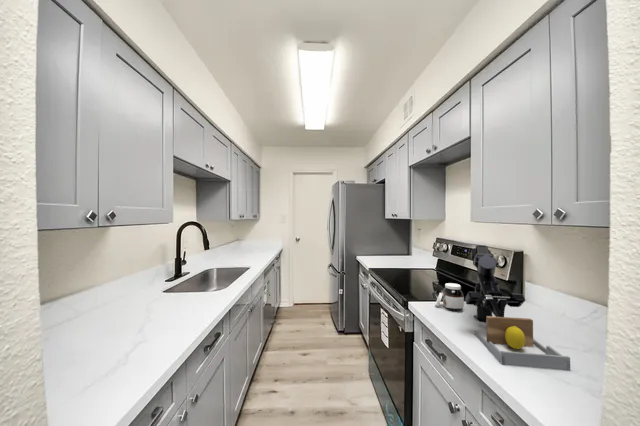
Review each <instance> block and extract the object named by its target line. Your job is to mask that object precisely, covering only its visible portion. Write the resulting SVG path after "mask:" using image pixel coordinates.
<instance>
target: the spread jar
mask: <svg viewBox="0 0 640 426" xmlns="http://www.w3.org/2000/svg"><path fill="white" fill-rule="evenodd" d="M461 289H462V286H461V285H460V284H458V283H453V282H448V283H447V282H446V283H445V284H444V288H443V289H442V292H439V294H438V296H437V299H436V302H435V306H436V307H439V306H440V304H441V301H442V303H443V304H442V305H443V307H444V308H445V310H447V311H451V312H462V310H463V309H465V308H464V307H465V305H464V304H465V303H464V302H465V301H464V300H465V298H464V297H465V296H464V293H463V291H462V290H461Z"/></svg>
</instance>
